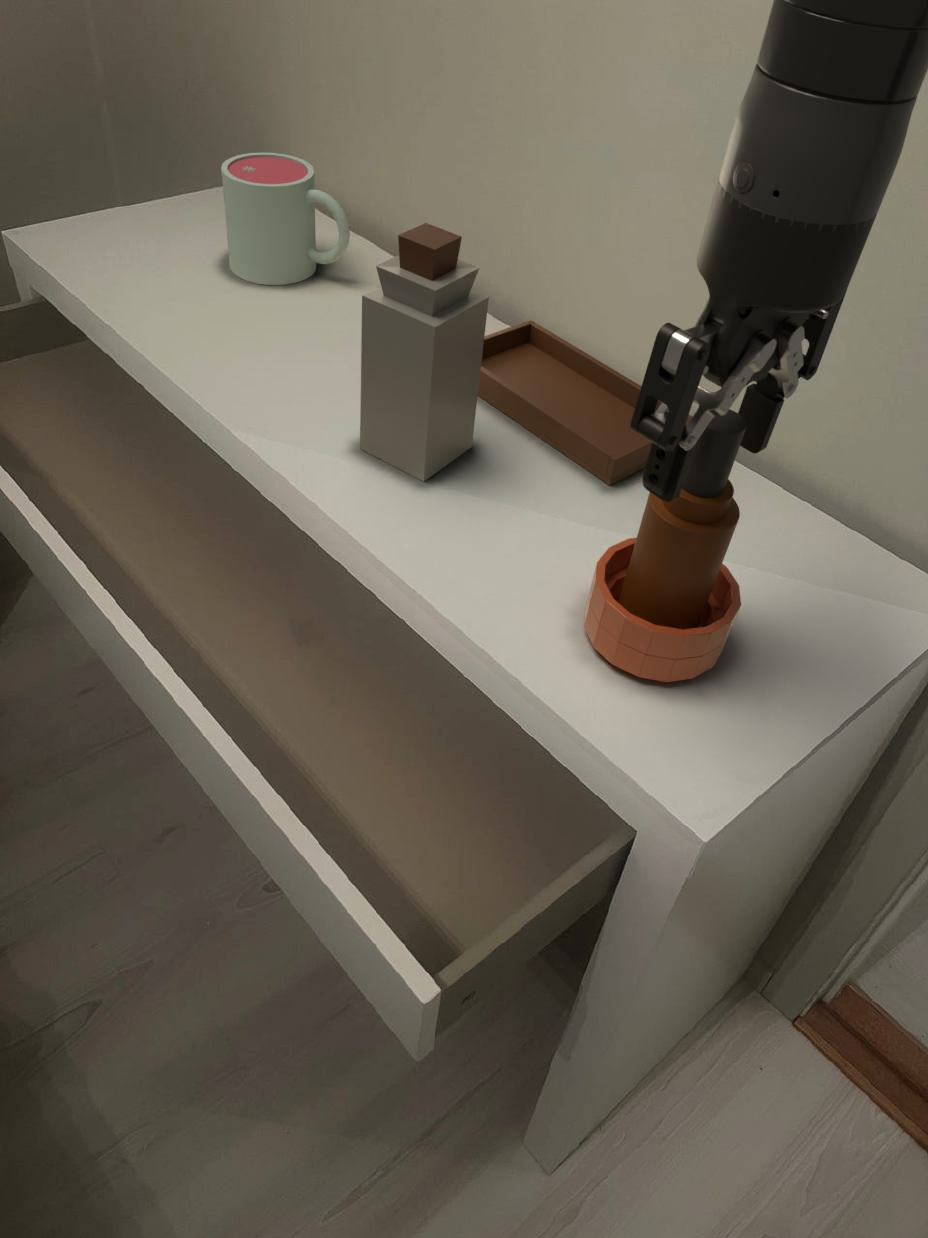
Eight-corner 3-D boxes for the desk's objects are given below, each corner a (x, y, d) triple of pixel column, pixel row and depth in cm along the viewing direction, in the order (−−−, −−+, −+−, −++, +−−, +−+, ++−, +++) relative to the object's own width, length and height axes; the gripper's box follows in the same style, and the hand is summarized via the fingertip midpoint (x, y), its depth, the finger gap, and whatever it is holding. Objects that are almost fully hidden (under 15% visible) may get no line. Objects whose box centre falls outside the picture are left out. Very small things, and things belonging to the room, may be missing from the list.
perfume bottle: (409, 416, 82) (421, 208, 69) (471, 446, 80) (495, 237, 67) (359, 448, 78) (362, 234, 65) (423, 481, 75) (439, 265, 63)
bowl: (715, 600, 68) (735, 548, 65) (722, 698, 61) (745, 646, 58) (586, 579, 69) (599, 526, 65) (579, 674, 62) (593, 620, 58)
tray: (690, 444, 83) (698, 419, 81) (609, 485, 77) (615, 459, 76) (527, 343, 93) (530, 319, 92) (445, 373, 88) (447, 348, 86)
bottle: (691, 608, 67) (767, 401, 55) (694, 665, 63) (776, 454, 51) (614, 596, 67) (672, 386, 55) (611, 651, 63) (674, 438, 51)
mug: (212, 270, 98) (202, 172, 92) (259, 240, 105) (253, 145, 98) (327, 304, 96) (326, 204, 89) (368, 270, 102) (370, 175, 95)
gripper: (780, 246, 38) (679, 548, 49) (944, 186, 46) (823, 460, 57) (642, 184, 42) (577, 478, 53) (814, 137, 49) (725, 404, 61)
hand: (704, 468), depth 55 cm, fingers open, 8 cm apart
